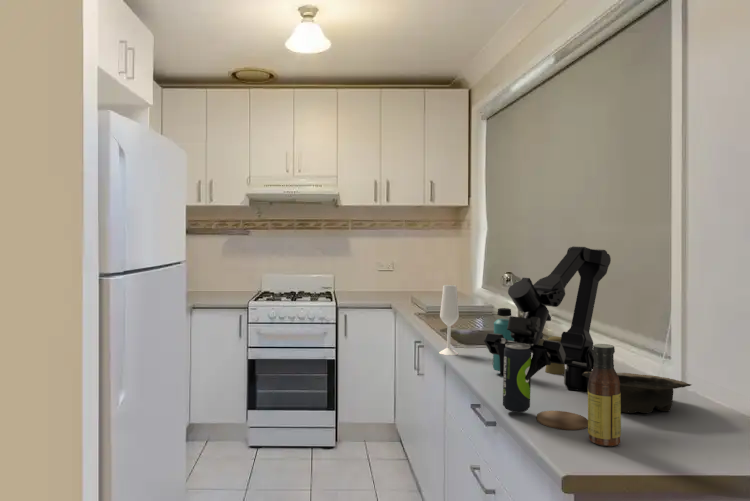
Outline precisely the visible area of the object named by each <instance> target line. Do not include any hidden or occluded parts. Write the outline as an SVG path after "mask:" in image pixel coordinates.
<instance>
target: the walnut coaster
mask: <svg viewBox="0 0 750 501" xmlns="http://www.w3.org/2000/svg"><path fill="white" fill-rule="evenodd" d="M536 421H537V422H538V423H539V424H541V425H542V426H546V427H548V428H551V429H557V430H564V431H565V430H566V431H578V430H583V429H586V428H588V418H587V417H585V416H583V415H581V414H578V413H574V412H570V411H563V410H544V411H541V412H538V413H537V414H536Z"/></svg>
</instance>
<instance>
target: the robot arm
mask: <svg viewBox="0 0 750 501" xmlns="http://www.w3.org/2000/svg"><path fill="white" fill-rule="evenodd" d="M611 259H612V258H611V255H610V254H609V253H608V251H607V250H606V249H598V248H597V249H595V248H594V249H593V248H588V247H586V246H575V245H574V246H570V247H569V248H567V251H566V254H565V255H564V256H563V258H562V259H561V260H560V261H559V263H558V264H557V265H556V266H555V268H553V270H552V271H551V272H550V274H548V275H547V276H545V277H544V276H543V277H541V278H540V279H538V280H537V281H536V282H535V283H533V282H532V280H531V278H530V277H522V278H521V279H520V280H518V281H516V282H514V283H513V284H511V285H510V286H509V287H508V289H507V295H509V297H510V299H511V300H512V302H513V303H514V305H515V307H516V308H517V310H518V311H519V312H521V313H523V314H522V316H513V315H511V316H508V319H509V322H508V327H507V330H510V331H511V337H512V338H514V341H508V340H507V339H505V338H504V337H503V335H502V334H496V333H494V332H489V333H487V334H486V335H485V337H484V339H483V341H484V344H485V346H486V347H487V350H488V351H489V353H490V354H491V355H493V354H496V355H499V357H500V371H499V375H500V376H501V377H503V372H504V348H505V347H506V346H505V345H506V344H508V343H522V344H527V345H530V350H531V364H530V368H529V371H528V373H527V375H526V377H525V379H526V380H527V381H528V380H529V379H530V378H532V377H533V376H535V374H537V373H538V372H539V371H540V370H542V369H543V368H544V367H545V368H546V365H550V364H551V363H556V364H565V366H566V367H565V370H564V374H563V384H564V385H565V387H566V389H567V390H568V391H582V392H583V391H584V392H588V382H589V378H588V377H585V376H582V374H583V373H584V372H590V371H592V370H593V367H594V352H593V345H594V341H593V338H592V336H591V333H590V329H591V324H592V320H593V319H592V318H593V314H594V308H595V304H596V303H595V302H596V298H597V293H598V288H599V282H600V281H601V280H602V279H603V278H604V277H605V276H606V275H607V272H608V271H609V270H608V269H609V266H610V264H611ZM576 273H578V275H579V277H580V278H579V284H578V288H577V293H576V297H575V304H574V309H573V315H572V319H571V325H570V327H569V329H567V331H563V332H562V333H561V335H560V337H561V341H560V342H559V341H551V340H548V339H545V340H543V338H544V333H543V331H544V329H545V325H546V322H551V321H552V316H551V315H550V310H549V309H548V308H547V307H552V308H555V307H557V308H558V307H559V306H560V305H561V303H562V301H563V300H564V298H565V296H566V287H567V286H568V283H570V282H571V280H572V278H573V277H574V276H575V275H576ZM540 340H543V342H542V344H539V343H540Z"/></svg>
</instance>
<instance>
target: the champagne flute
mask: <svg viewBox="0 0 750 501" xmlns="http://www.w3.org/2000/svg"><path fill="white" fill-rule="evenodd" d="M441 294H442V296H441V303H440V309H439V310H440V312H439V318H440V320H441V322H442V323H444V324H445V325H446V326H447V332H446V334H447V335H446V336H447V338H446V348H443V349H442V350H441V351H439V352H438V353H439V354H440V355H445V356H456V355H458V354H459V353H458V351H456V350H454V349H453V348H451V340H452V338H451V337H452V336H451V335H452V333H451V332H452V331H451V330H452V329H451V328H452V326H454V324H456V323H457V321H458V320H459V319H460V318H459V317H460V314H459V300H458V299H459V297H458V286H457V285H454V284H453V285H452V284H451V285H450V284H444V285H443V286H442V293H441Z"/></svg>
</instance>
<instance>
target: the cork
mask: <svg viewBox="0 0 750 501" xmlns="http://www.w3.org/2000/svg"><path fill="white" fill-rule="evenodd" d="M547 340H551V341H559V342H560V341H561V336H556V335H555V336H549V337H548V338H547ZM565 366H566V365H565V364H556V363H551V364H550V365H546V366H545V373H547V374H549V375H550V374H551V375H564V370H565V369H566V367H565Z"/></svg>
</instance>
